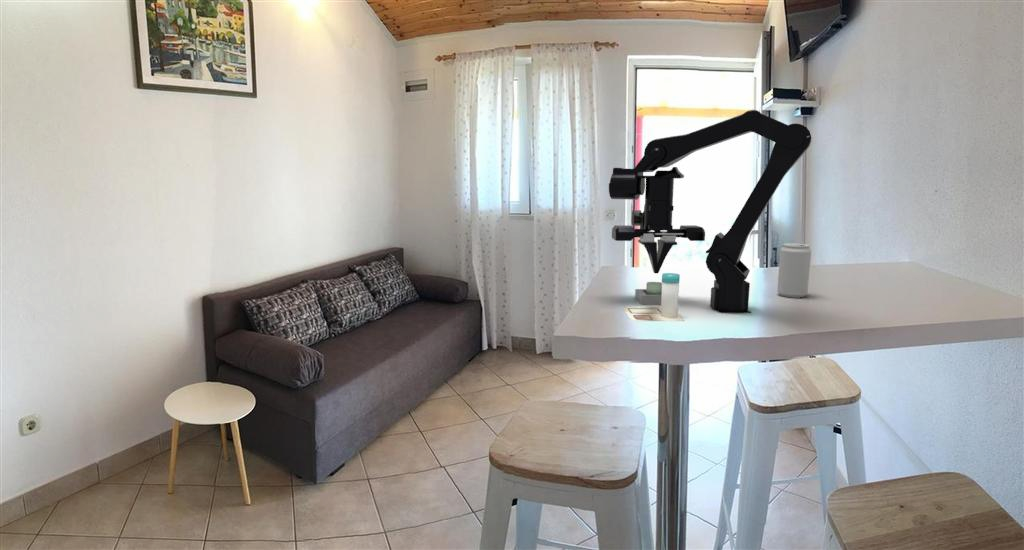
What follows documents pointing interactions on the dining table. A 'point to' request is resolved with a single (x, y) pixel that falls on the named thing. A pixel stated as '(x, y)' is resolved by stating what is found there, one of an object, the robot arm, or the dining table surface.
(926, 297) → the dining table surface
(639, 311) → the drawing board
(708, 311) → the dining table surface
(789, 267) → the beverage can
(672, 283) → the marker
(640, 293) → the button housing
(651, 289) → the button
